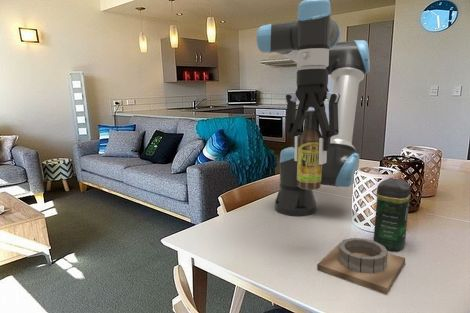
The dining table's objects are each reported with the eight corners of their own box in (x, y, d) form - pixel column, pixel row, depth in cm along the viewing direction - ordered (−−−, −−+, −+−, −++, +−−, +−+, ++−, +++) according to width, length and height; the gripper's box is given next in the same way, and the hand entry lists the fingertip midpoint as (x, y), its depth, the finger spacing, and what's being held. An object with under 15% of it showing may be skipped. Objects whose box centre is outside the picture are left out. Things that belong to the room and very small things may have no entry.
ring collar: (317, 269, 79) (317, 250, 78) (342, 245, 91) (343, 228, 90) (386, 294, 69) (388, 273, 68) (405, 263, 81) (406, 244, 80)
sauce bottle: (299, 191, 81) (300, 111, 78) (294, 184, 88) (295, 110, 84) (324, 190, 81) (327, 111, 78) (318, 184, 88) (320, 109, 84)
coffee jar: (402, 254, 86) (407, 186, 82) (370, 246, 90) (374, 182, 86) (407, 240, 93) (413, 178, 90) (378, 234, 98) (382, 174, 94)
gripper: (271, 70, 82) (270, 159, 87) (344, 65, 70) (339, 169, 74) (287, 71, 88) (286, 155, 92) (357, 66, 75) (352, 164, 80)
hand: (310, 161), depth 83 cm, fingers closed on sauce bottle, 6 cm apart
